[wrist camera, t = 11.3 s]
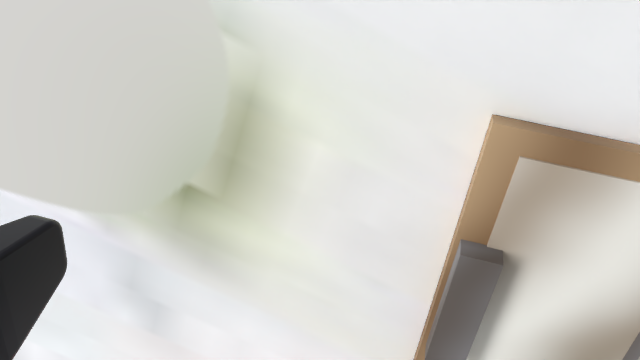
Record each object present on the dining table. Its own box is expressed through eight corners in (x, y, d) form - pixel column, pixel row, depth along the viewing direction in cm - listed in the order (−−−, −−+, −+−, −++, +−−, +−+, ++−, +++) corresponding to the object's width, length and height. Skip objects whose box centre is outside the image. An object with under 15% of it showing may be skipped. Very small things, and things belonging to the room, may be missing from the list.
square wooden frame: (1008, 222, 17) (1055, 255, 16) (738, 493, 26) (753, 531, 25) (492, 114, 19) (493, 135, 18) (400, 399, 28) (396, 429, 27)
